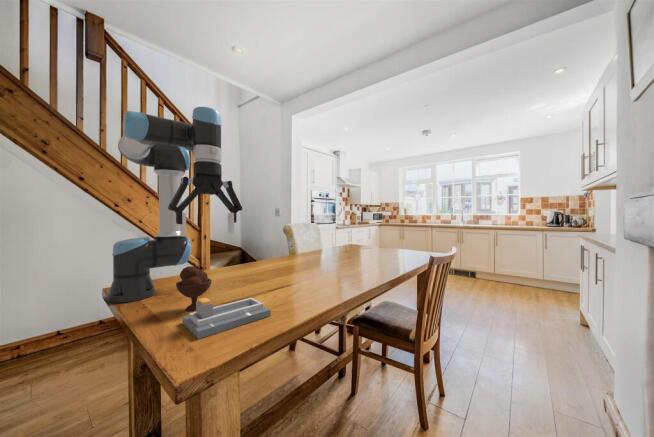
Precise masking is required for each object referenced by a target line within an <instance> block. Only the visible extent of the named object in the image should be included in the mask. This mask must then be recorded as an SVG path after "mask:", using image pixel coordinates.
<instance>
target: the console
mask: <svg viewBox="0 0 654 437" xmlns="http://www.w3.org/2000/svg"><path fill="white" fill-rule="evenodd" d="M188 313H189V314H188V315H185V316H184V315H183V316H182V324H183V325H184V326H185V327H186V328H187V330H189V331H190V332H191V334H193V336H194V337H196V338H197V339H198V340H200V339H203V338H206V337H209V336H212V335H216V334H219V333H222V332H224V331H228V330H231V329H234V328H237V327H240V326H243V325H247V324H250V323H253V322H255V321H258V320H262V319H265V318H267V317H271V316H272V312H271V309H270V308H268V307H266V306H264V303H263V302H260V301H259V300H257V299H255V298H253V297H248V298H245V299H240V300H237V301H233V302H230V303H224V304H220V305H217V306H213V316H211V317H207V318H204V319H199V318H198V317H197V316H196V311H192V312H188Z"/></svg>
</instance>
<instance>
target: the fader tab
mask: <svg viewBox="0 0 654 437" xmlns="http://www.w3.org/2000/svg"><path fill="white" fill-rule="evenodd" d="M213 307H214V303H213V302H212V300H211V299H209V298H208V297H202V298H199V299H198V298H197V302H196V311H195V312H196V316H197V317H198V318H199V319H204V318H207V317H211V316H213Z"/></svg>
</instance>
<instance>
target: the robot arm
mask: <svg viewBox="0 0 654 437" xmlns="http://www.w3.org/2000/svg"><path fill="white" fill-rule="evenodd" d="M191 119H192V122H191V123H188V122H184V121H178V120H174V119H169V118H165V117H161V116H156V115H151V114H148V113H144V112H141V111H139V112H138V111H132V110H127V111H125V112H124V113H123V122H122V123H123V125H122V126H123V128H122V129H123V135H122V136H121V137H120V138H119V140H118V142H117V149H118V151H119V153H120V154H121V156H123V157H124V158H125V159H126V160H128V161H129V162H132V163H134V164H135V165H136V164H137V165H140V166H144V167H151V168H153V171H154V173H155V174H156V175H157V177H158V225H159V226H158V227H159V228H158V232H157V233H156V234H155V236H154V239H153V240H151V239H150V237H148V236H143V237H135V238H128V239H124V240H119V241H116V242H115V243H114V244H113V246H112V253H111V254H112V258H113V260H112V262H113V263H112V264H113V265H112V266H113V267H112V274H113V276H112V279H113V280H112V283H111V285H110V287H109V290H108V293H107V302H109V303H115V304H117V303H118V304H119V303H127V302H128V303H129V302H136V301H140V300H144V299H148V298H150V297H152V296H154V295H155V294H156V287H155V283H154V282H153V280H152V277H151V273H150V272H151V271H150V270H151V269H156V268H163V267H171V266H172V267H173V266H179V265H180V266H181V265H184V264H186V263H187V262H188V261H189V259H190V256H191V252H192V244H191V243H192V242H191V239H190V238H189V237H187V212H183V211H184V210H185V209H186V208H187V207H188V206H189V205H190V204H191V203H192V202H193V201H194V199H196V198H197V196H199V195H200V194H201V195H208V196H209V195H210V196H212V195H214V196H216V197H217V198H218V199H219V200H220V201H221V203H223V205H224V206H225V207H226V209H227V210H228V211H229V212H227V234H229V235H230V234H231V235H234V234H235V223H237V213H238V212H240V211H241V212H242V211H243V206H242V205H241V203H240V200H239V198H238V196H237V194H236V191H235V190H234V188H233V182H232V180H227V181H223V179H222V176H223V175H222V173H223V172H222V164H220V163H222V126H223V125H222V119H221V113H220V112H219V111H218V110H216V109H215V108H212V107H208V106H196V107H194V108H193V109H192V116H191ZM190 152H192V160H193V161H194V162H193V163H192V166H193V169H192V170H193V178H190V177H188V176H185V175H186V172H187V171H188V170H189V169H190V166H191V165H190V164H191V157H190ZM191 184H192V185H193V187H194V189H192V191H191V192H190V193H189V194H188V196H187V197H186V198H184V200H183V196H184V194H185V192H186V190H187V188H188V187H189V186H190V185H191ZM222 187H224V189H225V190H226V193H227V195H228V197H229V198H228V197H227V195H226V194H225V193H224V191H223V190H222V189H221V188H222Z"/></svg>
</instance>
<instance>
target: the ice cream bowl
mask: <svg viewBox="0 0 654 437" xmlns="http://www.w3.org/2000/svg"><path fill="white" fill-rule="evenodd" d="M179 278H180V280H179V281H178V282H176V283H175V286H176V289H177V291H178V292H179V293H180V294H181V295H182V296H184V297H186V298H190V299H191V303H190V305H188V306H186V307H185V311H186V312H189V313H193V312H196V302H197V301H198V298H199V297H201V296H202V295H203V294H204V293H206V292H207V291H208V290H209V288H211V284H212V279H211V278H209V277H208V274H207V273H206V272H205V271H204V270H202V269H200V268H197V267H196V266H194V265H192V266H191V265H190V266H186V267H184V268H183V269H181V271H180V273H179Z"/></svg>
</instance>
